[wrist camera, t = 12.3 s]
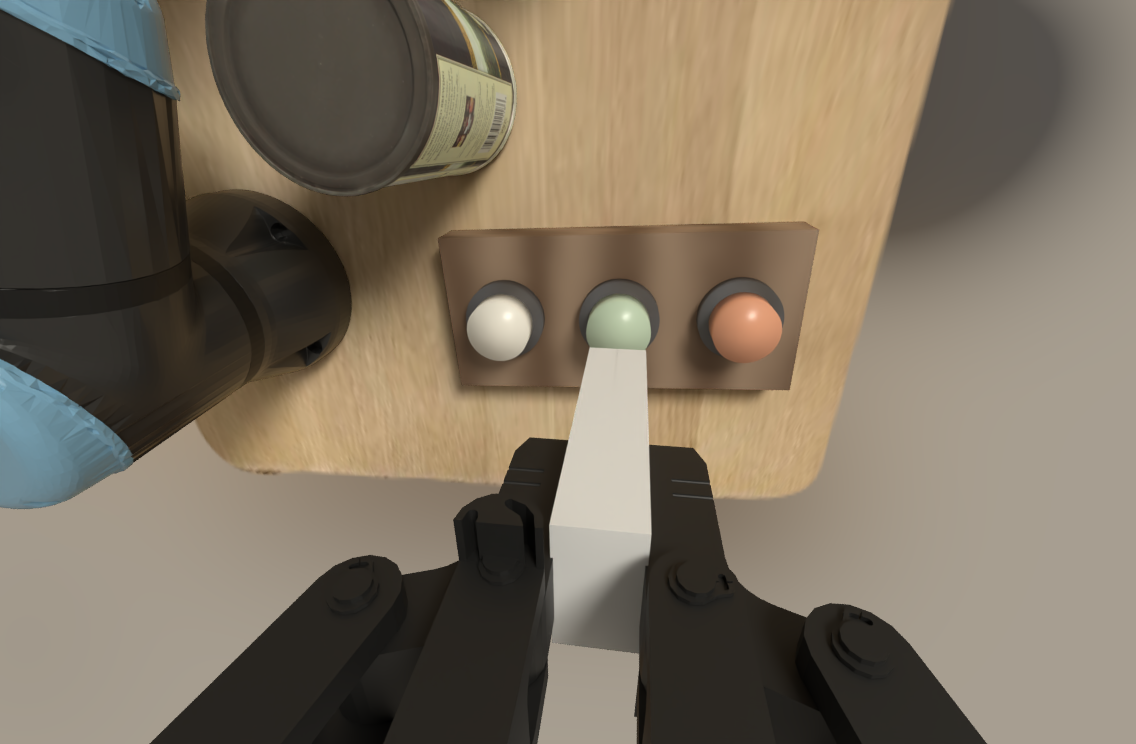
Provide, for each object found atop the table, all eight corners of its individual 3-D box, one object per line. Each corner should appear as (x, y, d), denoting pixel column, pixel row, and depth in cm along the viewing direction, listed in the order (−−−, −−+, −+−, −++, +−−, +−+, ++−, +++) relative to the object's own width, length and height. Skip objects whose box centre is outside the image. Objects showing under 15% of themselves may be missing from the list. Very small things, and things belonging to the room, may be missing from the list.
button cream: (478, 349, 37) (471, 360, 35) (471, 294, 35) (462, 303, 33) (535, 349, 37) (530, 361, 35) (530, 293, 35) (525, 302, 33)
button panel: (472, 369, 43) (457, 391, 39) (451, 230, 37) (432, 241, 34) (778, 372, 40) (793, 397, 36) (804, 221, 34) (825, 232, 31)
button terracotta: (706, 350, 35) (710, 362, 33) (711, 292, 33) (716, 301, 31) (769, 351, 35) (776, 363, 33) (778, 291, 33) (787, 301, 31)
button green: (589, 350, 36) (587, 362, 34) (587, 293, 34) (585, 302, 32) (648, 351, 35) (649, 362, 34) (650, 293, 33) (652, 302, 32)
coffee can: (358, 10, 32) (164, -76, 19) (510, -4, 30) (407, -108, 17) (389, 179, 36) (247, 199, 24) (523, 174, 34) (448, 194, 22)
